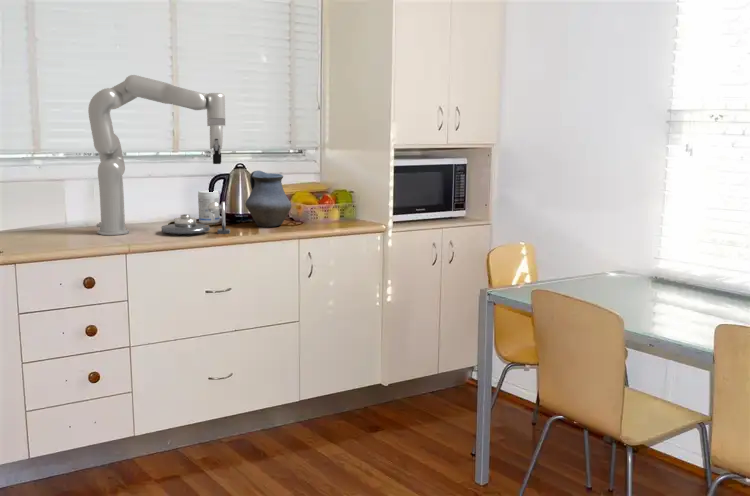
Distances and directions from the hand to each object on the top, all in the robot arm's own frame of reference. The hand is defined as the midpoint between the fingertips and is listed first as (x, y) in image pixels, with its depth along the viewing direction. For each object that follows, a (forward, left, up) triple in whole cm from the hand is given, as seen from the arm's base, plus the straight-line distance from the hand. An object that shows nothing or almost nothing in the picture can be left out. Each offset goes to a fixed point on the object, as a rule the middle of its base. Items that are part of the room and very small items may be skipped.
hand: (217, 163), depth 326 cm
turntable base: (-9, -11, -30) cm, 33 cm away
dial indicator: (+3, -2, -30) cm, 30 cm away
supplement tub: (-23, +19, -30) cm, 42 cm away
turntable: (-9, -11, -29) cm, 32 cm away
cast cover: (-11, -8, -27) cm, 30 cm away
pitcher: (+6, +26, -30) cm, 40 cm away
